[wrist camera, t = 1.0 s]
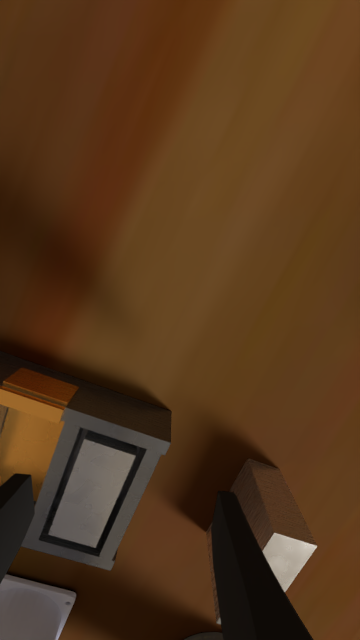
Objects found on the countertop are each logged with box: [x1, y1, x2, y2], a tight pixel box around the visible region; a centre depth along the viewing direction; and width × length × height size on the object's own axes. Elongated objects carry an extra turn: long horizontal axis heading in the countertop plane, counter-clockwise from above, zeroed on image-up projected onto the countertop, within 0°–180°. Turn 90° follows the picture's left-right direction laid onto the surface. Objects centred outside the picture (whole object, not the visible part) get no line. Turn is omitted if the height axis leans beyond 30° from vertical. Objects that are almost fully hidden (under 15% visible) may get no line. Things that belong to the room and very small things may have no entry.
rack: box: [0, 351, 171, 571], centre depth 19 cm, size 12×18×4 cm
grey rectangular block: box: [206, 458, 317, 624], centre depth 20 cm, size 8×3×6 cm, turn 158°
